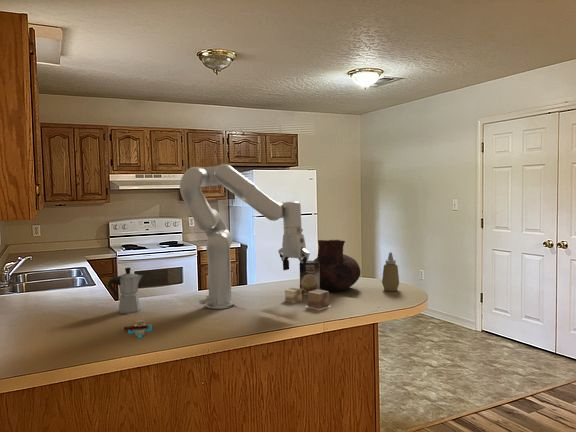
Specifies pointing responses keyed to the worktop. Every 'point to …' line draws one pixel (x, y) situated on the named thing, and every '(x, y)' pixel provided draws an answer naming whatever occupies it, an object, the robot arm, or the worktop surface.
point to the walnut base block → (318, 299)
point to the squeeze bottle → (390, 274)
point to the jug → (336, 266)
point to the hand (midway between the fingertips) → (294, 270)
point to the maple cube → (293, 295)
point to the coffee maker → (127, 291)
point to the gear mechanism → (141, 326)
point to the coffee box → (310, 277)
